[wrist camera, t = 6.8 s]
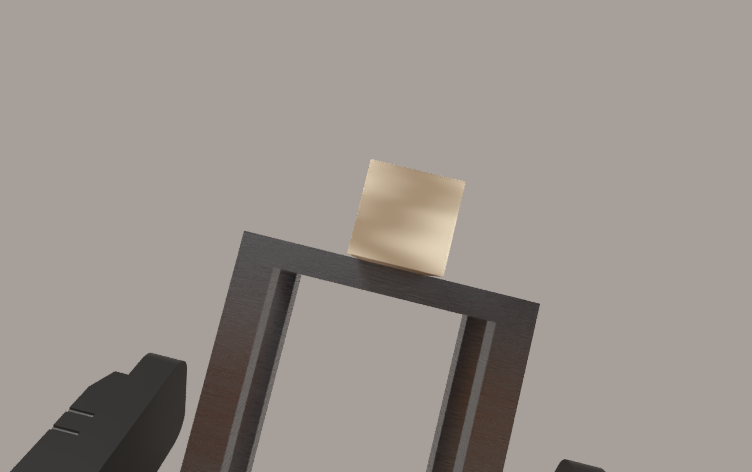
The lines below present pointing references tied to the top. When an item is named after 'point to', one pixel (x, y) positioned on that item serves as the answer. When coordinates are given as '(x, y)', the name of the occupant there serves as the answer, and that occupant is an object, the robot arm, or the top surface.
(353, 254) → the block
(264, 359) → the stand
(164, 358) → the robot arm
